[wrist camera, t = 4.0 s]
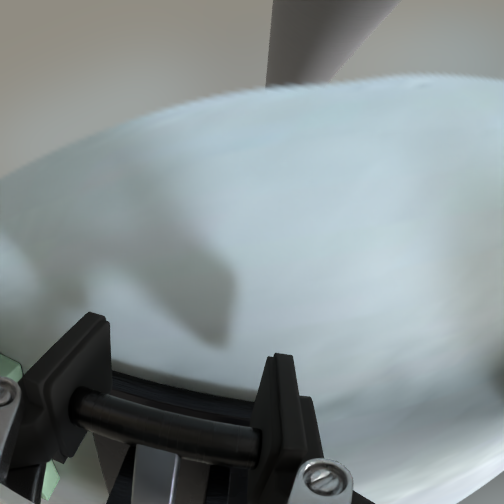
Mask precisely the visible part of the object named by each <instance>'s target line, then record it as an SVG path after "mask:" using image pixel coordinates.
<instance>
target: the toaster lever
mask: <svg viewBox="0 0 504 504" xmlns="http://www.w3.org/2000/svg"><path fill="white" fill-rule="evenodd" d="M68 416H69V420H70V422H71V423H72V424H73V425H75V426H78V427H80V428H83V429H85V430H88V431H90V432H93V433H96V434H99V435H101V436H104V437H107V438H110V439H113V440H116V441H119V442H122V443H125V444H128V445H132V446H135V447H136V452H135V462H134V473H133V484H132V498H131V504H175V497H176V490H177V483H178V476H179V469H180V462H181V458H182V459H186V460H191V461H196V462H201V463H207V464H212V465H218V466H225V467H231V468H239V469H247V470H254V469H256V467H257V466H258V463H259V460H260V455H261V450H262V431H261V429H259V428H254V427H246V426H240V425H233V424H227V423H221V422H215V421H210V420H205V419H200V418H195V417H190V416H185V415H181V414H177V413H172V412H168V411H164V410H160V409H156V408H152V407H149V406H145V405H141V404H138V403H134V402H131V401H127V400H124V399H121V398H118V397H114V396H111V395H108V394H105V393H102V392H99V391H96V390H94V389H91V388H88V387H85V386H79V387H77V388H76V389H75V391H74V392H73V394H72V396H71V399H70V402H69V407H68Z"/></svg>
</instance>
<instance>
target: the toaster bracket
mask: <svg viewBox="0 0 504 504" xmlns="http://www.w3.org/2000/svg"><path fill="white" fill-rule="evenodd" d="M109 395H111V396H114V397H118V398H121V399H124V400H127V401H131V402H134V403H138V404H141V405H145V406H149V407H152V408H156V409H160V410H164V411H168V412H172V413H177V414H181V415H185V416H190V417H195V418H200V419H205V420H210V421H215V422H221V423H227V424H233V425H240V426H246V427H250V419H251V414H252V411H253V407H254V403H255V402H249V401H243V400H237V399H231V398H225V397H219V396H214V395H209V394H204V393H199V392H194V391H189V390H185V389H180V388H176V387H172V386H167V385H163V384H159V383H155V382H152V381H148V380H144V379H140V378H137V377H133V376H130V375H126V374H123V373H119V372H116V371H113V370H112V389H111V392H110V394H109ZM93 436H94V441H95V445H96V449H97V454H98V458H99V461H100V465H101V469H102V473H103V476H104V480H105V483H106V486H107V490H108V493H109V498H108V500H107V503H106V504H131V498H132V484H133V473H134V462H135V452H136V447H135V446H132V445H128V444H125V443H122V442H119V441H116V440H113V439H110V438H107V437H104V436H101V435H99V434H96V433H93ZM247 486H248V470H247V469H239V468H231V467H225V466H218V465H212V464H207V463H201V462H196V461H191V460H186V459H182V458H181V462H180V469H179V476H178V483H177V490H176V497H175V504H247Z"/></svg>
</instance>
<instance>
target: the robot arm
mask: <svg viewBox="0 0 504 504" xmlns="http://www.w3.org/2000/svg"><path fill="white" fill-rule="evenodd" d="M79 386H85V387H88V388H91V389H94V390H96V391H99V392H102V393H105V394H108V395H109V394H110V392H111V389H112V366H111V344H110V323H109V322H108V321H106V318H105V316H103V315H99V314H96V313H92V312H88V313H87V314H85V315H84V316H83V317H82V318H81V319H80V320H79V321H78V322H77V323H76V324H75V325H74V326H73V327H72V328H71V329H70V330H69V331H68V332H67V333H65V334H64V335H63V336H62V337H61V338H60V339H59V340H58V341H57V342H56V343H55V344H54V345H53V346H52V347H51V348H50V349H49V350H48V351H47V352H46V353H45V354H44V355H43V356H42V357H41V358H40V359H39V360H38V361H37V362H36V363H35V364H34V365H33V366H32V367H31V368H30V369H29V370H28V371H27V372H26V373H25V374H24V375H23V377H22V378H21V379H20V380H19V381H18V382H15V381H14V380H13V379H10V378H8V377H2V376H0V504H40V503H41V496H42V489H43V482H44V476H45V471H46V465H47V462H50V461H51V459H54V460H56V461H58V462H60V463H62V464H64V463H65V461H66V459H67V458H68V457H69V458H72V457H73V456H74V454H75V453H76V451H77V449H78V447H79V445H80V444H81V442H82V440H83V438H84V437H85V435H86V433H87V431H88V430H85V429H83V428H80V427H78V426H75V425H73V424H72V423H71V422H70V420H69V416H68V407H69V402H70V399H71V396H72V394H73V392H74V391H75V389H76V388H77V387H79ZM250 427H254V428H259V429H261V431H262V450H261V455H260V460H259V463H258V466H257V467H256V469H254V470H248V486H247V504H375V503H373V502H371V501H370V500H368V499H366V498H365V497H363V496H361V495H360V494H358V493H357V492H355V491H353V477H352V475H351V473H350V471H349V470H348V469H347V468H346V467H345V466H344V465H342V464H341V463H339V462H338V461H335V460H332V459H327V458H324V455H323V450H322V445H321V440H320V435H319V430H318V425H317V420H316V415H315V410H314V406H313V401H312V398H311V397H308V396H299V391H298V385H297V379H296V372H295V366H294V360H293V356H292V355H287V354H280V353H275V354H274V356H273V357H270V356H268V357H267V360H266V364H265V367H264V371H263V375H262V378H261V382H260V386H259V389H258V393H257V396H256V400H255V403H254V407H253V411H252V414H251V419H250Z"/></svg>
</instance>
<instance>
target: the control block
mask: <svg viewBox="0 0 504 504" xmlns="http://www.w3.org/2000/svg"><path fill="white" fill-rule="evenodd" d="M0 376H2V377H8V378H10V379H13V380H14V381H15V382H18V381H19V380H20V379H21V378H22V377H23V374H22V370H21V365H20V364H19V363H18V362H15V361H13V360H11V359H10V358H8V357H6V356H4V355H2V354H0ZM59 479H60V477H59V475H58V473H57V470H56V468H55V466H54V464H53V461H52V459H51V461H50V462H47V465H46V471H45V476H44V482H43V489H42V496H41V498H43V499H45V500H47V501H48V500H49V498H50V496H51V494H52V493H53V491H54V489H55V487H56V485H57V483H58V481H59Z"/></svg>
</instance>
